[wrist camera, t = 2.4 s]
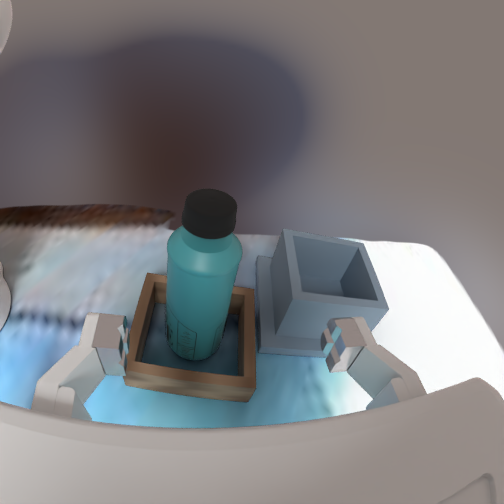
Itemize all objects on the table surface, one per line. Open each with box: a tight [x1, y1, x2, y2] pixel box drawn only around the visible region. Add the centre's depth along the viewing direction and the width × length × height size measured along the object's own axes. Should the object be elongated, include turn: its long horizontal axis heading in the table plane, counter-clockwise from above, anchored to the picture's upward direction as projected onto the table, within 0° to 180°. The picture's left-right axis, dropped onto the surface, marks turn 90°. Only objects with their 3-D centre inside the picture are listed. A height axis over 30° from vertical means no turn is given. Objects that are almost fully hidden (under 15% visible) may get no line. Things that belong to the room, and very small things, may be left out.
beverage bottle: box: [165, 189, 242, 360], centre depth 29 cm, size 6×7×20 cm
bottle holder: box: [256, 229, 389, 357], centre depth 41 cm, size 16×16×8 cm
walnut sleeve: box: [123, 273, 256, 402], centre depth 34 cm, size 13×13×4 cm
